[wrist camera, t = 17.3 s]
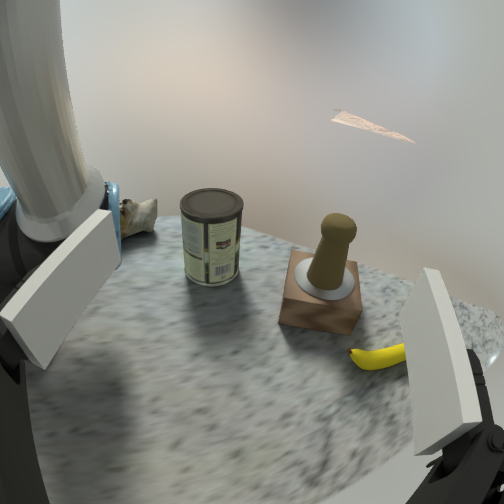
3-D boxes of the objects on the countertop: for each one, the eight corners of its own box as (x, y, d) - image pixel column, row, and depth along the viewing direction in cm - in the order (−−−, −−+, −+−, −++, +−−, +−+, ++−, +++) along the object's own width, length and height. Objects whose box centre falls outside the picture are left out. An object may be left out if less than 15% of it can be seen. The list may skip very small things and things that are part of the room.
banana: (432, 356, 43) (450, 332, 39) (337, 383, 40) (352, 359, 36) (425, 343, 45) (442, 319, 42) (331, 366, 42) (344, 341, 38)
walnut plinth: (278, 323, 48) (284, 296, 44) (286, 275, 57) (291, 248, 54) (350, 335, 47) (362, 309, 43) (347, 286, 56) (357, 260, 52)
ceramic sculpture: (161, 202, 58) (89, 222, 53) (166, 238, 63) (100, 257, 58) (151, 182, 65) (88, 199, 60) (156, 215, 71) (97, 231, 65)
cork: (347, 290, 46) (368, 231, 39) (310, 290, 45) (327, 229, 39) (336, 265, 51) (353, 208, 44) (302, 265, 50) (316, 206, 43)
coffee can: (208, 245, 63) (208, 182, 54) (249, 266, 59) (256, 200, 50) (172, 270, 56) (166, 203, 47) (214, 296, 52) (215, 225, 43)
